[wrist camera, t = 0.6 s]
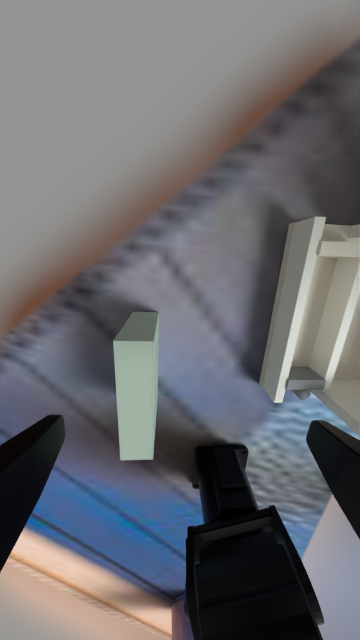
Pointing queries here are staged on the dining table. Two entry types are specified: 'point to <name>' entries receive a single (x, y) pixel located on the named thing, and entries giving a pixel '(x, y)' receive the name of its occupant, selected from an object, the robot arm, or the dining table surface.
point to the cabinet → (317, 319)
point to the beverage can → (180, 621)
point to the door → (137, 384)
